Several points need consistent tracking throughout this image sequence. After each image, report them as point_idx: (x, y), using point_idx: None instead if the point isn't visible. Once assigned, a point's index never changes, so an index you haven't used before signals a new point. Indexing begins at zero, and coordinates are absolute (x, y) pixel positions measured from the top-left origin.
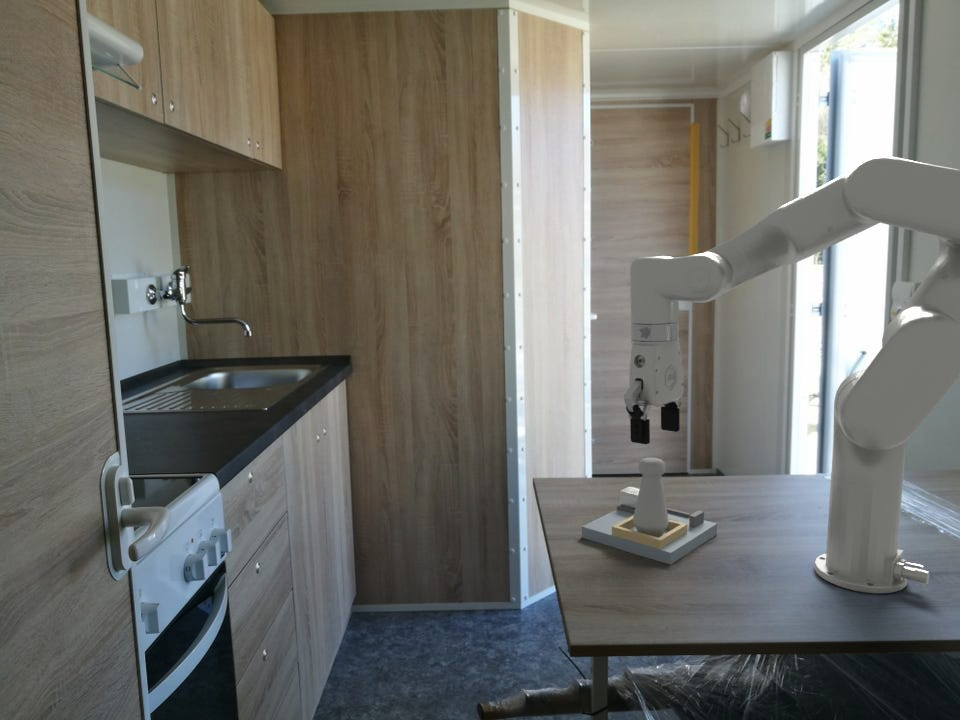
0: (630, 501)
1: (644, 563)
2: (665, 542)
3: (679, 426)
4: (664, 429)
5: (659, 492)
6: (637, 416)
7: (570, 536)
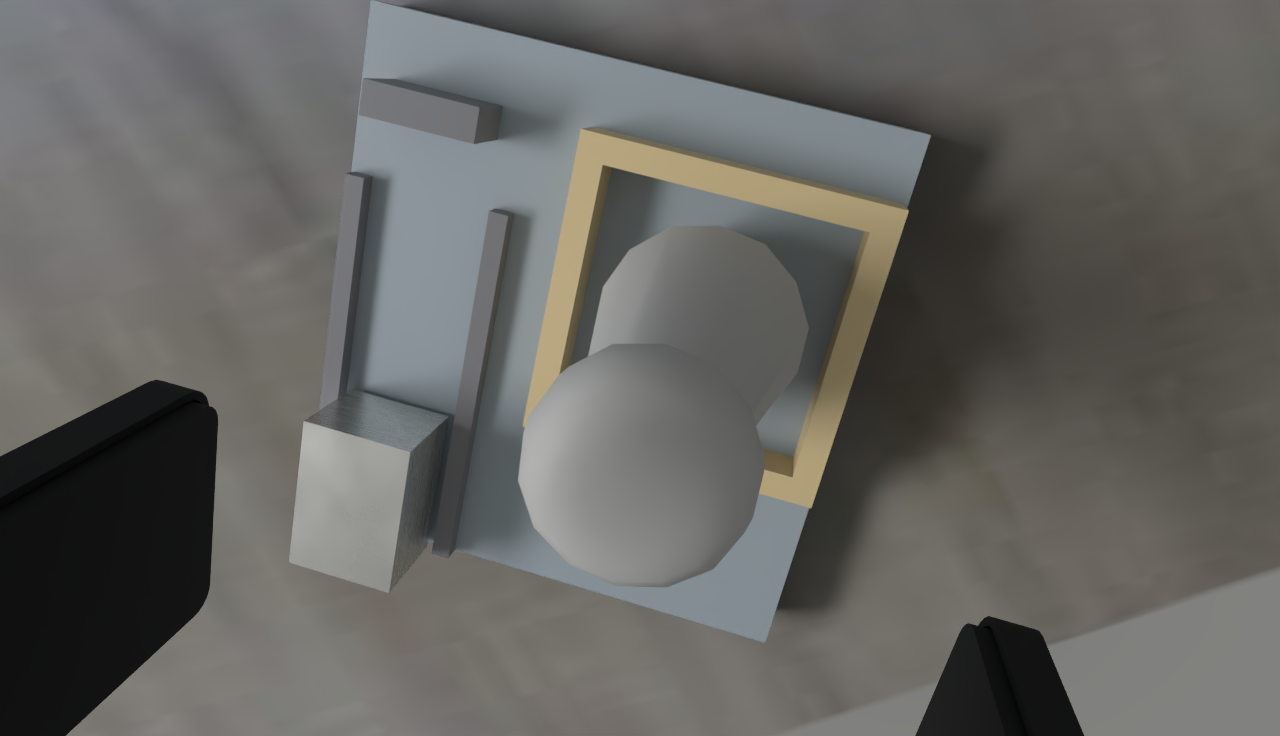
0: (417, 507)
1: (955, 260)
2: (846, 191)
3: (120, 397)
4: (210, 563)
5: (717, 322)
6: None
7: (776, 657)
